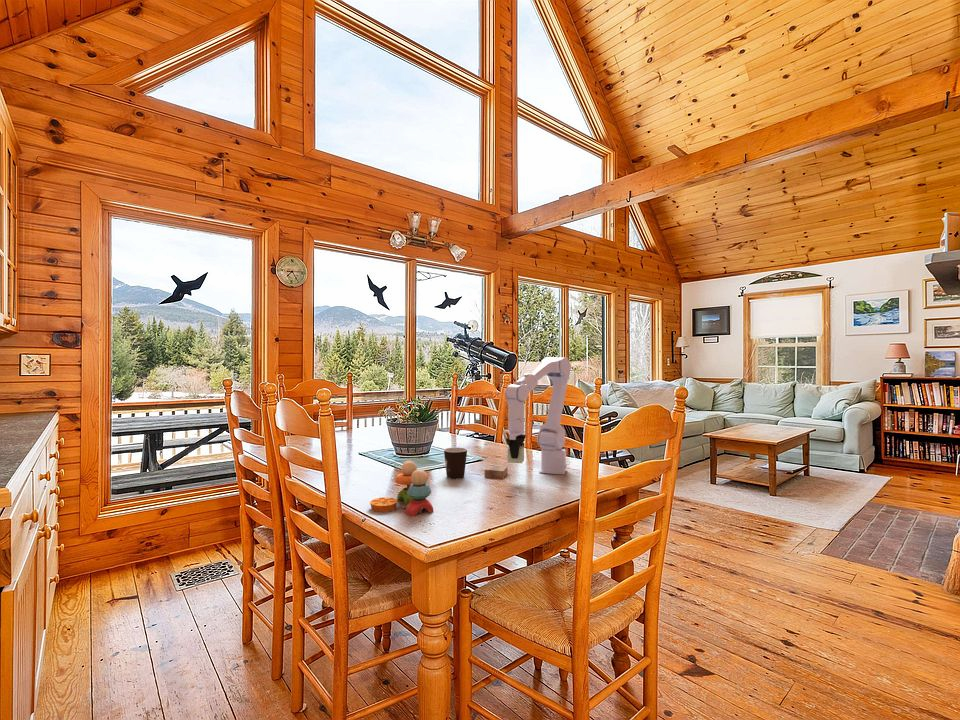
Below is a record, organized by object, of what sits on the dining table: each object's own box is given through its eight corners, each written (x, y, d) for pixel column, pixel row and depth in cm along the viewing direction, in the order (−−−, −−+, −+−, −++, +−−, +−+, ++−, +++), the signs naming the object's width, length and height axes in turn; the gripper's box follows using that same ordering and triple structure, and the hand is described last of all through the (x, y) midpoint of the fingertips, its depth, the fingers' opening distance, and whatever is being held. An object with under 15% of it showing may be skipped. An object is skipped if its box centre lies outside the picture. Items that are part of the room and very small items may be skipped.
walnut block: (507, 474, 184) (507, 466, 183) (503, 479, 177) (503, 471, 177) (489, 473, 186) (489, 465, 185) (484, 477, 179) (484, 469, 179)
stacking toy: (363, 506, 145) (363, 465, 144) (413, 496, 155) (413, 457, 155) (393, 523, 131) (393, 477, 130) (445, 510, 141) (445, 467, 141)
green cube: (524, 460, 174) (524, 446, 174) (521, 463, 169) (521, 449, 169) (510, 459, 175) (510, 445, 175) (507, 462, 170) (507, 448, 170)
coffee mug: (464, 480, 174) (464, 452, 173) (441, 479, 175) (441, 451, 175) (470, 472, 185) (470, 446, 185) (448, 471, 186) (448, 445, 186)
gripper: (509, 415, 180) (509, 451, 180) (500, 420, 166) (500, 460, 166) (528, 416, 178) (527, 452, 178) (521, 421, 164) (521, 461, 164)
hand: (516, 456), depth 172 cm, fingers closed on green cube, 5 cm apart
